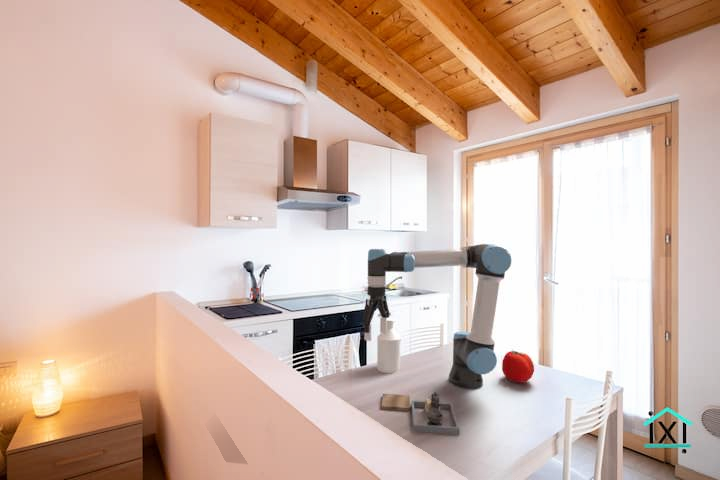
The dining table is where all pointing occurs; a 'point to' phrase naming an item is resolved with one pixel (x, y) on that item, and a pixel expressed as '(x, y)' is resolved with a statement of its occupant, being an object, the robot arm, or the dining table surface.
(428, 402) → the beech block
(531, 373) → the tomato
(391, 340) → the bottle
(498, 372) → the dining table surface
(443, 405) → the tray
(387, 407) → the light brown wooden board
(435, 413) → the dark grey chess piece
